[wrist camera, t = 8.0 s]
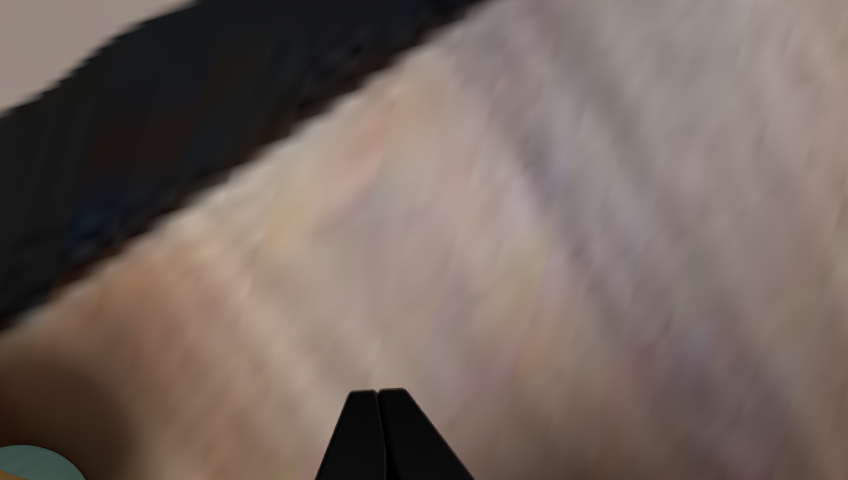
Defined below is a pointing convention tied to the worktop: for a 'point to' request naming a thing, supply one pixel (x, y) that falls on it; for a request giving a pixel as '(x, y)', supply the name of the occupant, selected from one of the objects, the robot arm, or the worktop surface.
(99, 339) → the worktop surface
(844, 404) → the worktop surface
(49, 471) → the cupcake
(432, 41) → the worktop surface
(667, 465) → the worktop surface
